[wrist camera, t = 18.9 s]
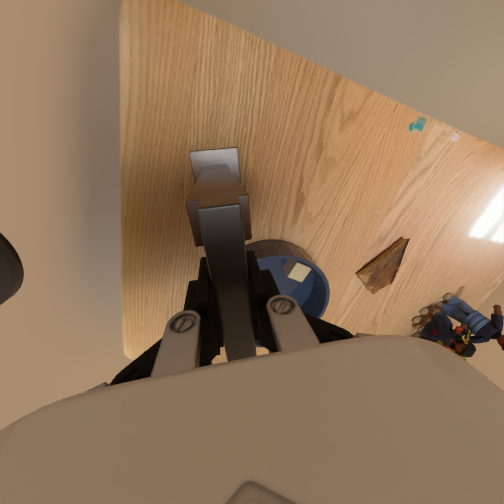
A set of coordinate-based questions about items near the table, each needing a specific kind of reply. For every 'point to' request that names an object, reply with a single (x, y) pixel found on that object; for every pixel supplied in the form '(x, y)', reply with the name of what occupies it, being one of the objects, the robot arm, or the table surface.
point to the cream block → (296, 269)
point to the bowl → (306, 292)
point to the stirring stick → (228, 271)
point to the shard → (383, 267)
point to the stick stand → (216, 185)
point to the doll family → (460, 336)
